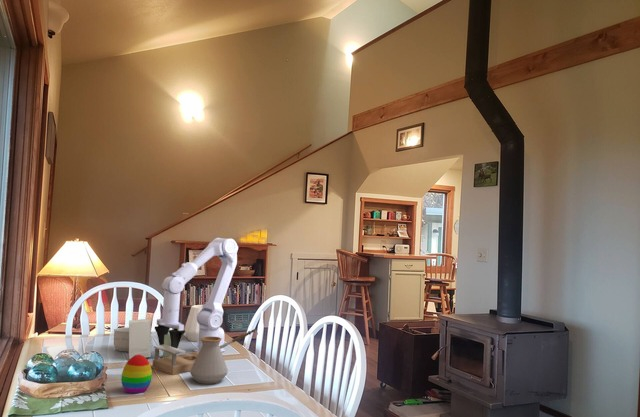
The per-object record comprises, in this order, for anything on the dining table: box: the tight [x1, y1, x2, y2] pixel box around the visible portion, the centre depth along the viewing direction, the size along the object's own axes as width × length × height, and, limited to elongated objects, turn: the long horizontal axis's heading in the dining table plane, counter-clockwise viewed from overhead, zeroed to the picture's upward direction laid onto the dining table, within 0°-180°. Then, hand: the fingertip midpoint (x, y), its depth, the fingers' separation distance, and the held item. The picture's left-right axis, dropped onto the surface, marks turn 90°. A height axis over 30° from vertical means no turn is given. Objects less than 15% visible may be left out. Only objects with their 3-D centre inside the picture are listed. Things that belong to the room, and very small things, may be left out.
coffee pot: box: [189, 328, 259, 385], centre depth 155 cm, size 21×12×15 cm, turn 121°
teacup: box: [113, 327, 129, 352], centre depth 184 cm, size 14×11×8 cm
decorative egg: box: [120, 355, 153, 394], centre depth 139 cm, size 8×8×10 cm
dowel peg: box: [162, 333, 172, 358], centre depth 177 cm, size 3×3×8 cm
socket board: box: [151, 344, 199, 376], centre depth 166 cm, size 18×12×7 cm, turn 140°
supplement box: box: [128, 318, 152, 359], centre depth 175 cm, size 7×7×13 cm
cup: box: [184, 304, 204, 342], centre depth 209 cm, size 13×13×14 cm
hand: (168, 347), depth 176 cm, fingers open, 7 cm apart
